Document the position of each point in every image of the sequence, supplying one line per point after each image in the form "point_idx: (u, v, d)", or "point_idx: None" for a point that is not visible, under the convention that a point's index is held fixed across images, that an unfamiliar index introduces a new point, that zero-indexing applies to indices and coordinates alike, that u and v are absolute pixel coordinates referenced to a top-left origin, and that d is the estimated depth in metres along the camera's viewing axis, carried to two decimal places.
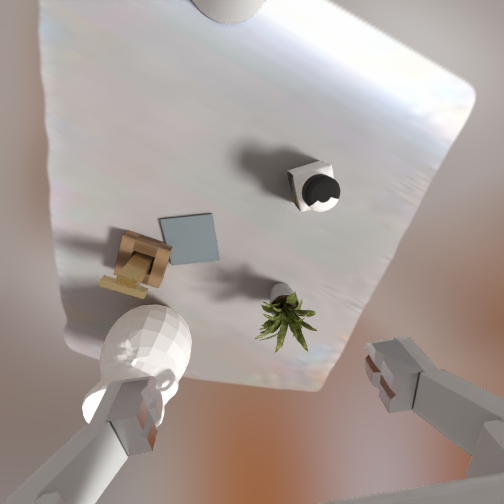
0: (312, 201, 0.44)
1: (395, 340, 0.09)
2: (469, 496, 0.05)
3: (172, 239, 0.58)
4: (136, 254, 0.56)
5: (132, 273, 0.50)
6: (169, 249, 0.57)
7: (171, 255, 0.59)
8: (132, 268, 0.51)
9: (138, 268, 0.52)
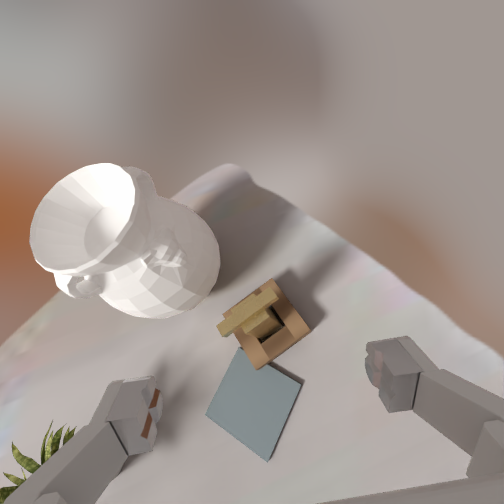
0: None
1: (395, 340, 0.09)
2: (469, 497, 0.05)
3: (268, 377, 0.40)
4: (277, 325, 0.39)
5: (258, 328, 0.33)
6: (258, 368, 0.39)
7: None
8: (264, 326, 0.35)
9: (259, 331, 0.35)
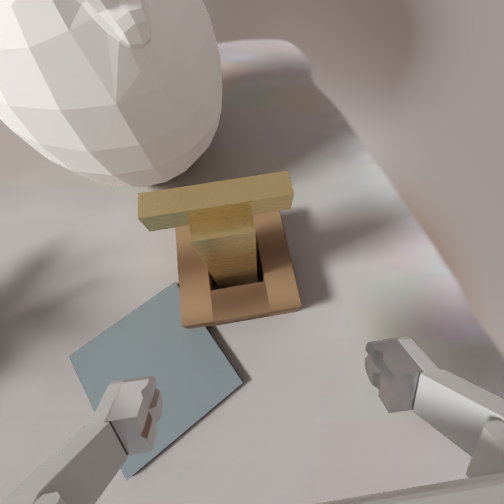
0: None
1: (395, 340, 0.09)
2: (469, 496, 0.05)
3: (196, 347, 0.23)
4: (252, 275, 0.22)
5: (221, 248, 0.16)
6: (187, 326, 0.22)
7: None
8: (233, 256, 0.17)
9: (220, 261, 0.18)
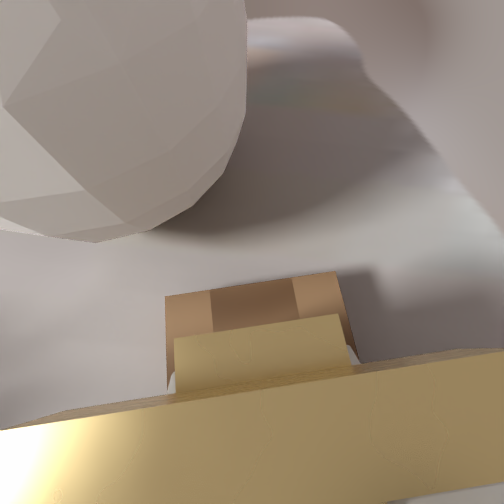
0: None
1: None
2: (469, 497, 0.05)
3: None
4: None
5: None
6: None
7: None
8: None
9: None
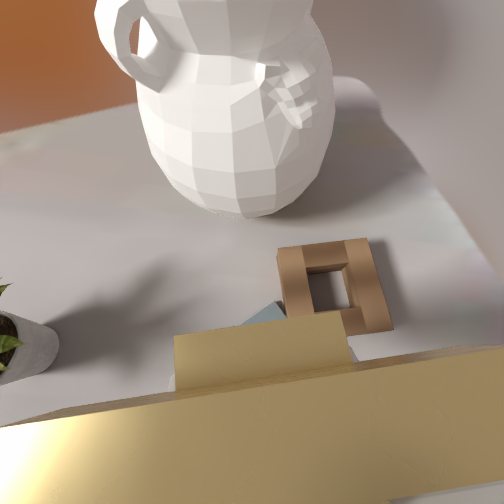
0: None
1: None
2: (469, 496, 0.05)
3: None
4: None
5: None
6: None
7: None
8: None
9: None
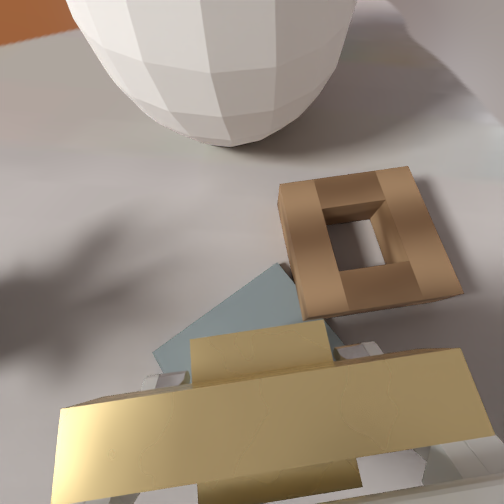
0: None
1: (361, 345, 0.09)
2: (469, 497, 0.05)
3: None
4: None
5: None
6: (312, 317, 0.17)
7: (292, 291, 0.19)
8: None
9: None
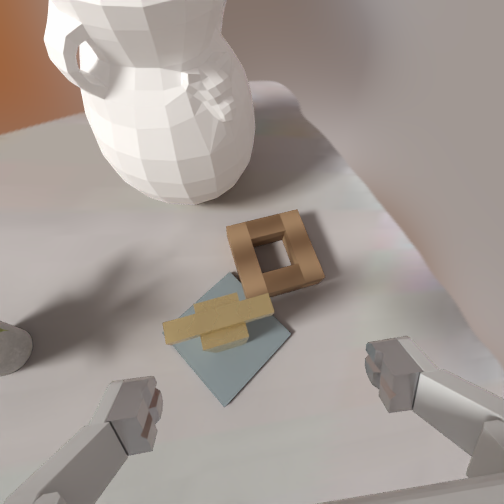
0: None
1: (395, 340, 0.09)
2: (469, 496, 0.05)
3: None
4: (243, 343, 0.28)
5: (223, 345, 0.21)
6: None
7: (240, 287, 0.34)
8: (231, 344, 0.23)
9: (221, 347, 0.23)
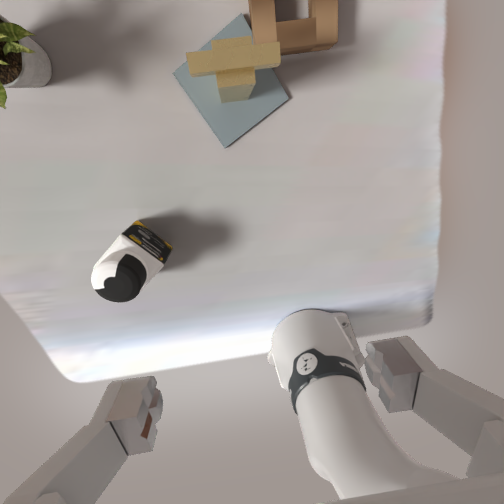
0: (119, 271, 0.32)
1: (395, 340, 0.09)
2: (469, 496, 0.05)
3: (260, 72, 0.34)
4: (246, 96, 0.32)
5: (233, 88, 0.26)
6: None
7: None
8: (238, 90, 0.28)
9: (229, 92, 0.28)
